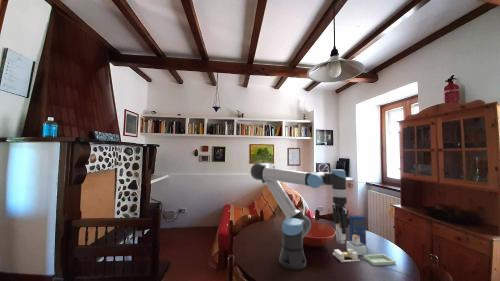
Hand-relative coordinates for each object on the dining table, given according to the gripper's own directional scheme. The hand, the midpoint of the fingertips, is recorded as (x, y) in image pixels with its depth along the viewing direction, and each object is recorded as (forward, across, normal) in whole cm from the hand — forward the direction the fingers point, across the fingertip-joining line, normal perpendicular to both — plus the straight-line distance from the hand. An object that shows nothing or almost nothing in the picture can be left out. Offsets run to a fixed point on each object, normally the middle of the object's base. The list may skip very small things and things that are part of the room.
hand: (340, 237), depth 117 cm
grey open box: (+15, +13, -17) cm, 26 cm away
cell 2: (+14, +13, -17) cm, 26 cm away
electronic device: (+15, +23, -25) cm, 37 cm away
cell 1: (+2, 0, 0) cm, 2 cm away
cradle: (+15, +7, -6) cm, 18 cm away
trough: (+15, +1, -24) cm, 28 cm away
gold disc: (+13, +7, -7) cm, 16 cm away
